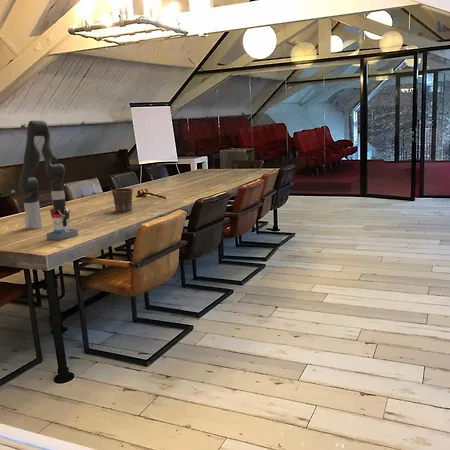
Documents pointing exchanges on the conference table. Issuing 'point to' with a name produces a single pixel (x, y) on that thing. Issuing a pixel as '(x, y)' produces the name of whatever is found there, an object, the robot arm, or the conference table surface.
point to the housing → (62, 235)
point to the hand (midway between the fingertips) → (61, 225)
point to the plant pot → (123, 199)
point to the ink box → (59, 224)
